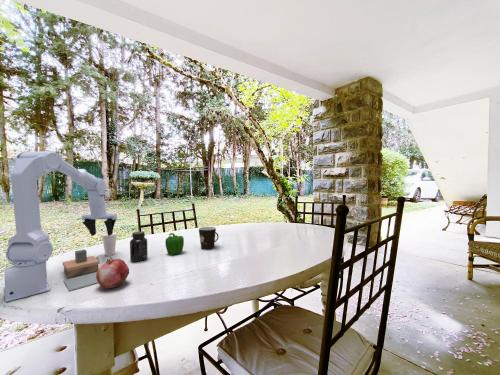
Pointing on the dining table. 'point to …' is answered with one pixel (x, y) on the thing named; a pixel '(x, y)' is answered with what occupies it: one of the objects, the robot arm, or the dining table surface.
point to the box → (81, 271)
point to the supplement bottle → (138, 247)
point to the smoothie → (109, 243)
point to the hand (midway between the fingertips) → (102, 234)
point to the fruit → (112, 273)
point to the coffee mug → (207, 237)
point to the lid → (80, 261)
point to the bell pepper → (174, 244)
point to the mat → (81, 281)
